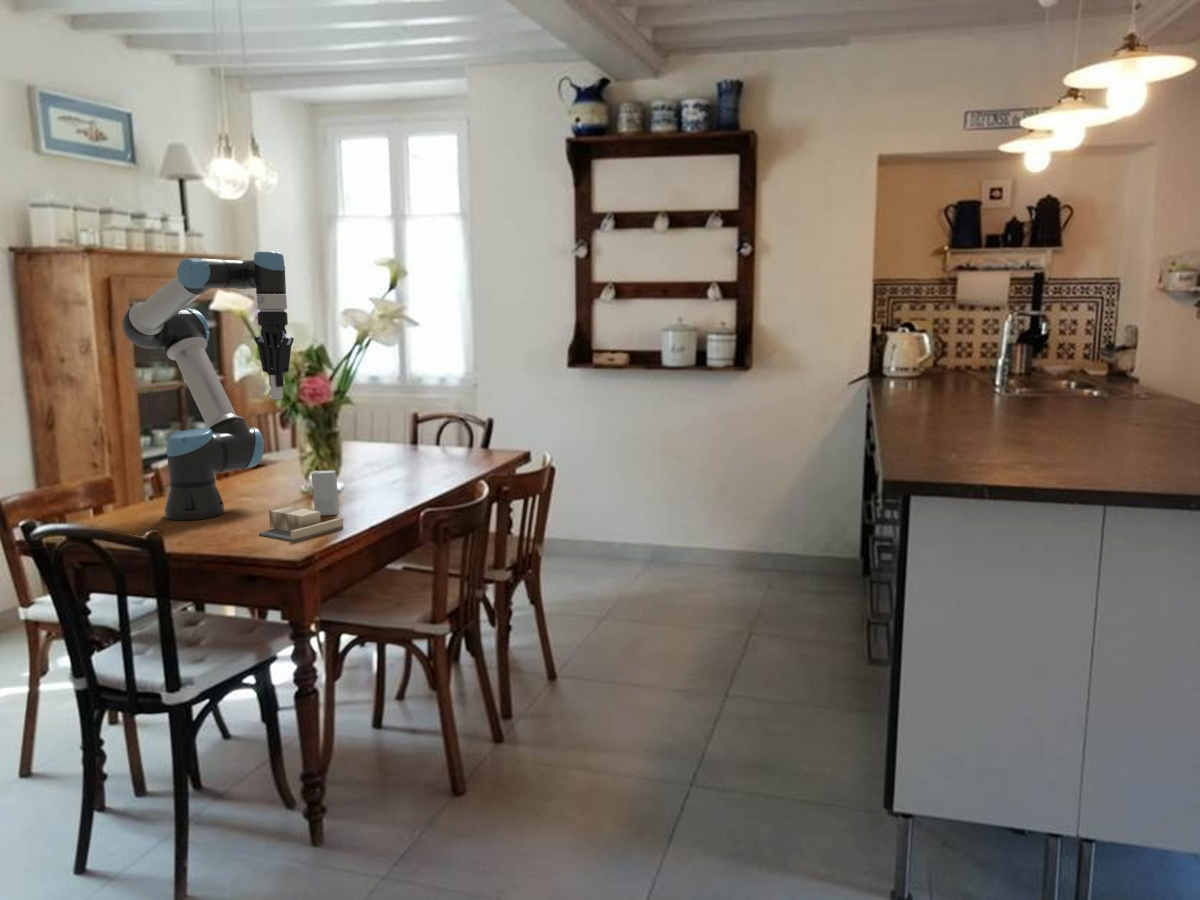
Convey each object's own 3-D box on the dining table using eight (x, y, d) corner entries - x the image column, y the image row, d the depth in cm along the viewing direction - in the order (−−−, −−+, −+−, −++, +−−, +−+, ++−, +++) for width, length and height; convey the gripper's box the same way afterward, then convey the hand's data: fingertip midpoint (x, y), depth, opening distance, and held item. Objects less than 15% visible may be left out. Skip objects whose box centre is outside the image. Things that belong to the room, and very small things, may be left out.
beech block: (269, 510, 235) (301, 516, 228) (288, 506, 240) (320, 511, 233) (270, 527, 235) (302, 533, 229) (288, 522, 240) (321, 528, 234)
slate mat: (259, 535, 230) (258, 525, 230) (308, 522, 244) (308, 512, 243) (294, 541, 224) (293, 531, 223) (343, 528, 237) (342, 518, 237)
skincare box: (339, 512, 256) (337, 469, 254) (336, 515, 251) (334, 472, 249) (316, 512, 255) (314, 470, 253) (313, 516, 250) (311, 473, 249)
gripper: (244, 310, 243) (249, 398, 246) (277, 311, 236) (282, 401, 240) (267, 310, 249) (272, 396, 253) (300, 310, 242) (304, 398, 246)
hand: (277, 398), depth 246 cm, fingers closed
